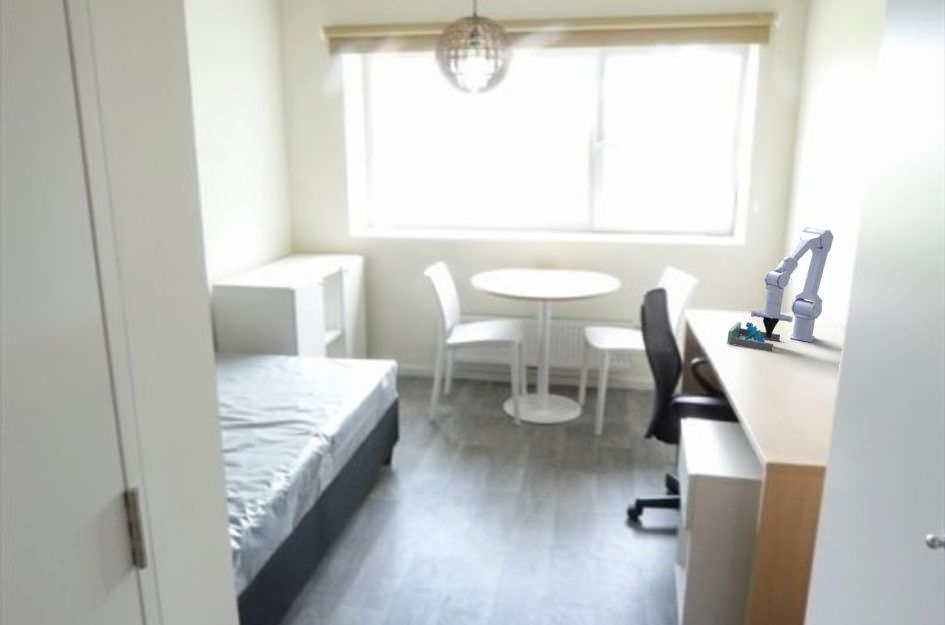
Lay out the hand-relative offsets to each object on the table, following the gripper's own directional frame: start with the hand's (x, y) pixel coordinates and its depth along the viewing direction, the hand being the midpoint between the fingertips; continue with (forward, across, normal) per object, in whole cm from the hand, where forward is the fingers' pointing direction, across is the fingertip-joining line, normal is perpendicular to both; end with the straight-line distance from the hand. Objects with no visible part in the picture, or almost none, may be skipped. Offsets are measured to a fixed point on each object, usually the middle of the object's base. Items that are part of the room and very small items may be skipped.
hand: (768, 337), depth 267 cm
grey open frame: (+3, -5, 0) cm, 6 cm away
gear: (+3, -5, 0) cm, 6 cm away
